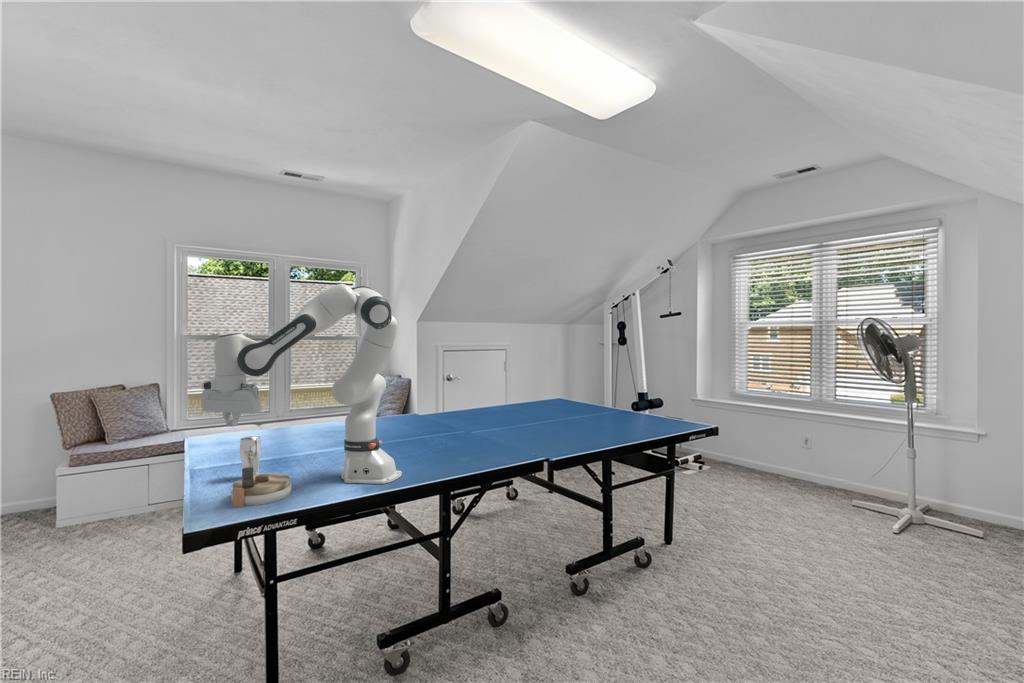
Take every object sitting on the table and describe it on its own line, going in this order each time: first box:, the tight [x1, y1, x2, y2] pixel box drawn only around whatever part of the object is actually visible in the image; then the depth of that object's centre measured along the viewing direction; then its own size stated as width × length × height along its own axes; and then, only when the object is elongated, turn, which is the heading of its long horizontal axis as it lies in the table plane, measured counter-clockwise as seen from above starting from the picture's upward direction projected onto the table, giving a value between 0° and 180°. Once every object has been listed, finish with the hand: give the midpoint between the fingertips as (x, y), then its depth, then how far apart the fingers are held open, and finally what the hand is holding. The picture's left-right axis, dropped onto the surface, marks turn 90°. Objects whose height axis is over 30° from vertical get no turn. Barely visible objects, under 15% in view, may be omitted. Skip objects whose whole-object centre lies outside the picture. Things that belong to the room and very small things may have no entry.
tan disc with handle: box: [232, 467, 291, 496], centre depth 167 cm, size 17×17×8 cm
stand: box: [230, 481, 292, 508], centre depth 166 cm, size 18×20×6 cm
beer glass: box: [239, 435, 262, 476], centre depth 186 cm, size 7×7×15 cm
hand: (231, 426), depth 161 cm, fingers closed
